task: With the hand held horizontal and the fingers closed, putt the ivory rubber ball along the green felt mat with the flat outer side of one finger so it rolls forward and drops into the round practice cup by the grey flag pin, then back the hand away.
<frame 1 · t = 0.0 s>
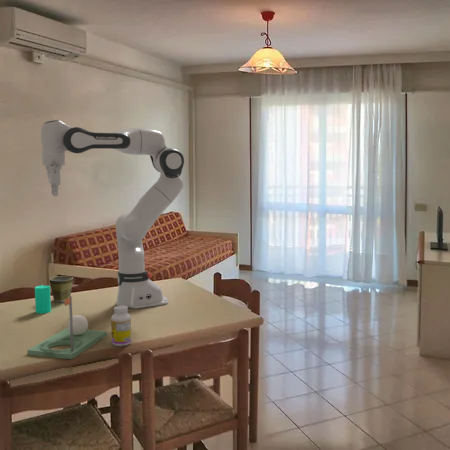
hand: (54, 195, 222), 48 cm above the table, tool pointing down, fingers open, 8 cm apart
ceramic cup: (60, 300, 245), on the table
ball: (77, 325, 192), point 5 cm above the table, touching green
green: (69, 344, 187), on the table
candle: (43, 311, 226), on the table
supplement bottle: (121, 344, 188), on the table
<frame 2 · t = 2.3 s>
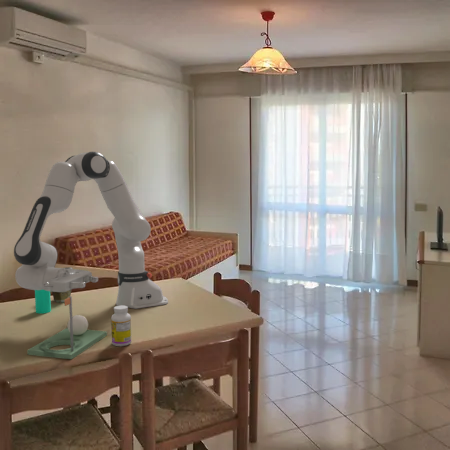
hand: (90, 282, 199), 18 cm above the table, tool horizontal, fingers open, 8 cm apart
nothing on the table moved.
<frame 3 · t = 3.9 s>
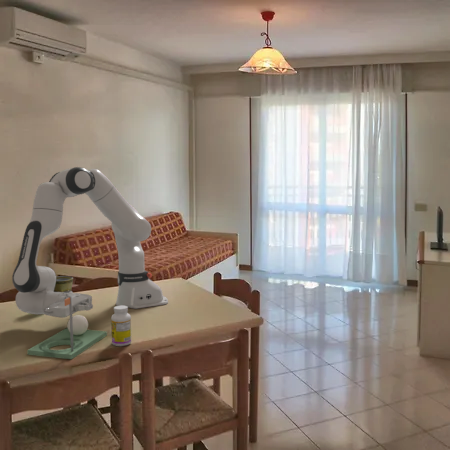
hand: (90, 307, 199), 9 cm above the table, tool horizontal, fingers closed
nothing on the table moved.
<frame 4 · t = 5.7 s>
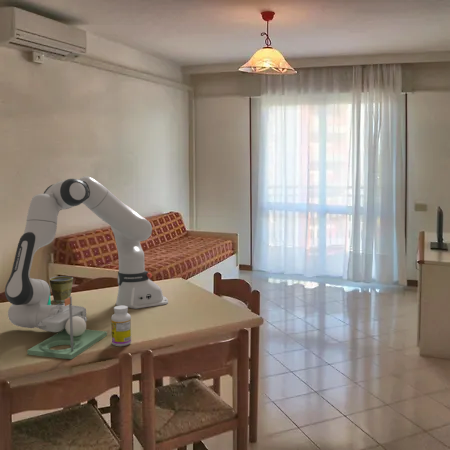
hand: (84, 320, 195), 6 cm above the table, tool horizontal, fingers closed
ball: (75, 326, 190), point 5 cm above the table, tilted 23°, touching green
everything else where it was.
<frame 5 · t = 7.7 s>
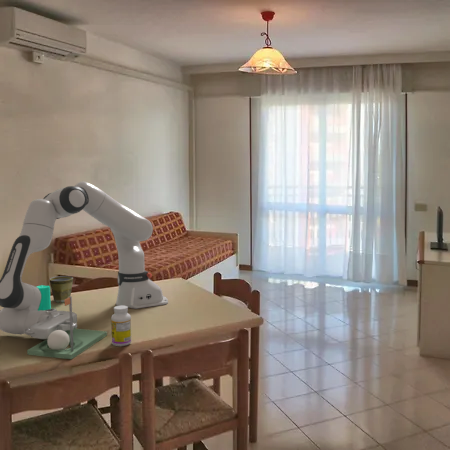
hand: (75, 326, 188), 5 cm above the table, tool horizontal, fingers closed
ball: (58, 340, 180), point 3 cm above the table, tilted 149°
everything else where it was.
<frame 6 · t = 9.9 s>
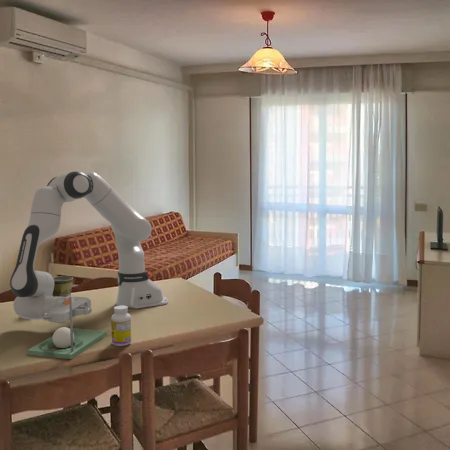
hand: (89, 311, 197), 8 cm above the table, tool horizontal, fingers closed
ball: (63, 337, 183), point 3 cm above the table, tilted 162°
everything else where it was.
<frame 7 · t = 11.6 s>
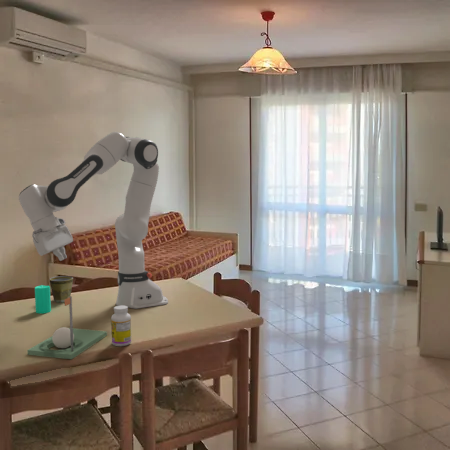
hand: (63, 259, 205), 25 cm above the table, tool tilted 25°, fingers closed
nothing on the table moved.
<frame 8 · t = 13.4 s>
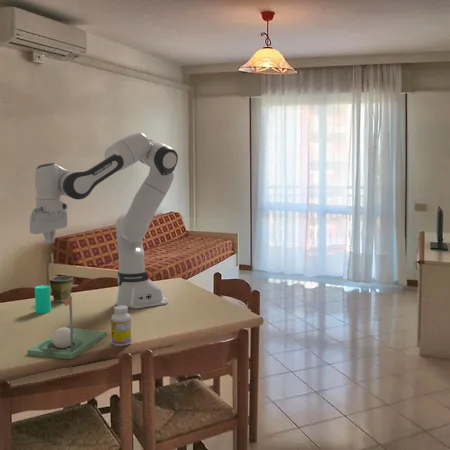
hand: (49, 242, 208), 31 cm above the table, tool pointing down, fingers closed
nothing on the table moved.
at the end: ball 1.4 cm from the target spot in the green, point 3.5 cm above the green's base; ball moved 9.7 cm from its start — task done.
